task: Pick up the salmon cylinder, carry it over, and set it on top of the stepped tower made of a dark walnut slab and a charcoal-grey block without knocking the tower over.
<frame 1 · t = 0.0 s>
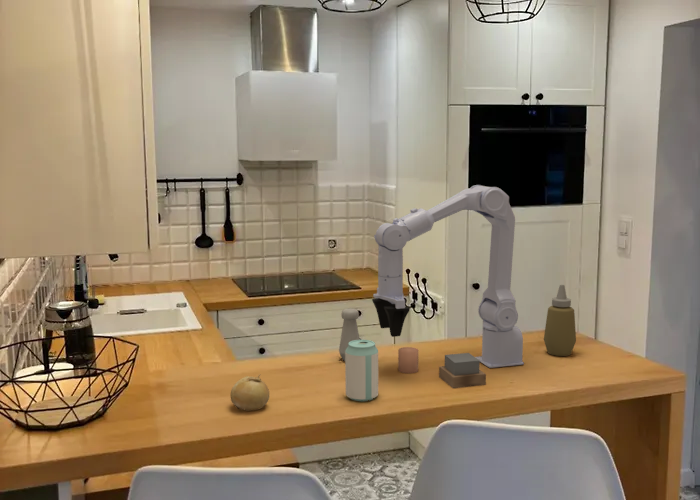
hand: (390, 331, 168), 10 cm above the breakfast bar, fingers open, 7 cm apart
walnut slab: (461, 382, 164), on the breakfast bar, touching charcoal block
can: (361, 397, 154), on the breakfast bar
salt shaker: (350, 360, 180), on the breakfast bar
squeeze bottle: (559, 354, 185), on the breakfast bar
salmon cylinder: (408, 370, 172), on the breakfast bar
onion: (250, 408, 149), on the breakfast bar
charcoal block: (461, 370, 164), point 3 cm above the breakfast bar, touching walnut slab
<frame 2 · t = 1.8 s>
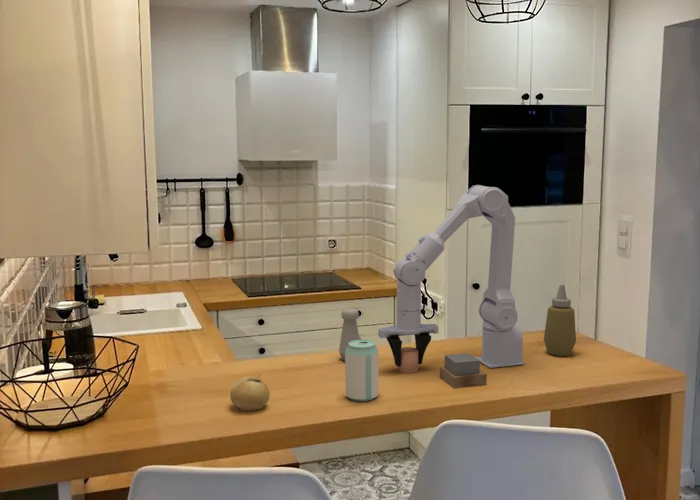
hand: (408, 364, 172), 1 cm above the breakfast bar, fingers closed on salmon cylinder, 5 cm apart
salmon cylinder: (408, 369, 172), on the breakfast bar, touching gripper
everything else where it was.
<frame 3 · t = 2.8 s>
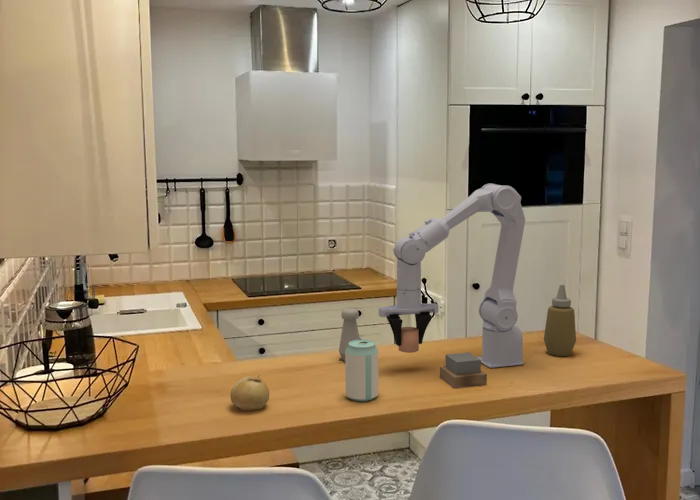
hand: (408, 343, 171), 6 cm above the breakfast bar, fingers closed on salmon cylinder, 5 cm apart
salmon cylinder: (408, 349, 171), point 5 cm above the breakfast bar, touching gripper
everything else where it was.
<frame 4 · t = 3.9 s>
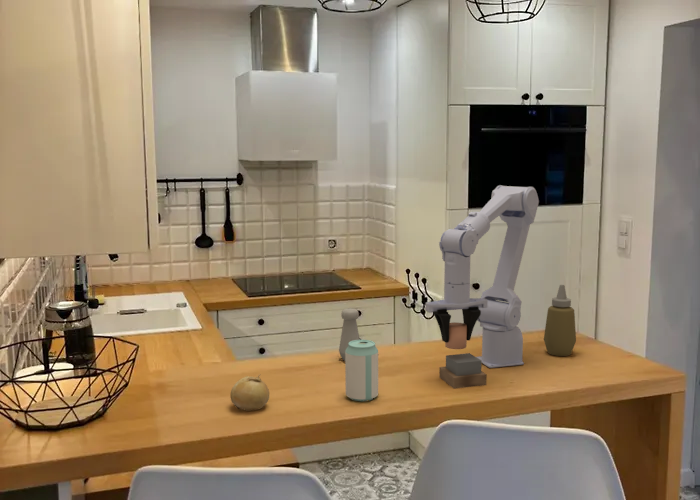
hand: (456, 340, 164), 9 cm above the breakfast bar, fingers closed on salmon cylinder, 5 cm apart
walnut slab: (462, 383, 164), on the breakfast bar
salmon cylinder: (455, 346, 164), point 8 cm above the breakfast bar, touching gripper
charcoal block: (463, 370, 163), point 2 cm above the breakfast bar
everything else where it was.
when the fingers open (8 cm above the breakfast bar, at t = 4.9 s): salmon cylinder drops 2 cm, resting on charcoal block.
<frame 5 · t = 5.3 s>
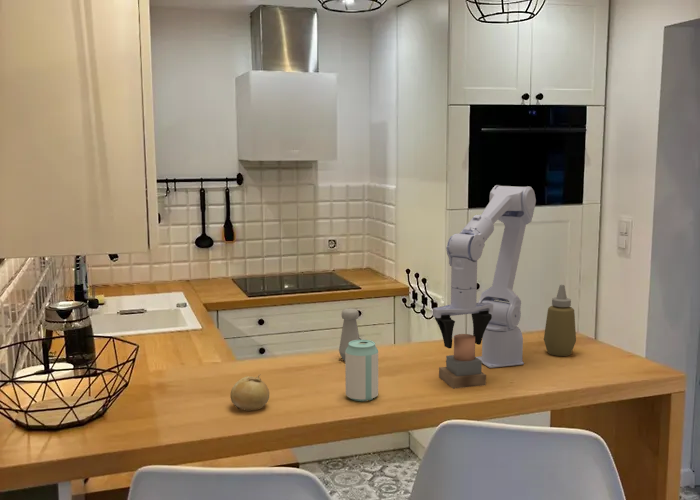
hand: (462, 345, 163), 8 cm above the breakfast bar, fingers open, 7 cm apart
salmon cylinder: (464, 357, 163), point 5 cm above the breakfast bar, touching charcoal block
charcoal block: (463, 370, 163), point 2 cm above the breakfast bar, touching salmon cylinder
everything else where it was.
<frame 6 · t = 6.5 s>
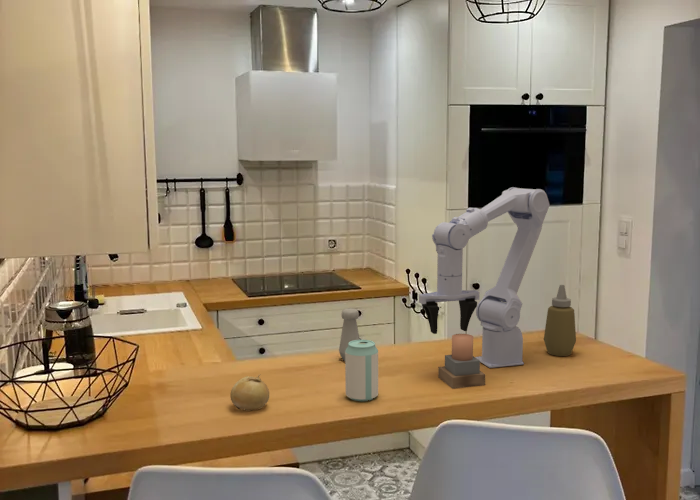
hand: (448, 331, 167), 10 cm above the breakfast bar, fingers open, 7 cm apart
walnut slab: (461, 383, 164), on the breakfast bar, touching charcoal block
charcoal block: (461, 370, 163), point 3 cm above the breakfast bar, touching salmon cylinder, walnut slab
everything else where it was.
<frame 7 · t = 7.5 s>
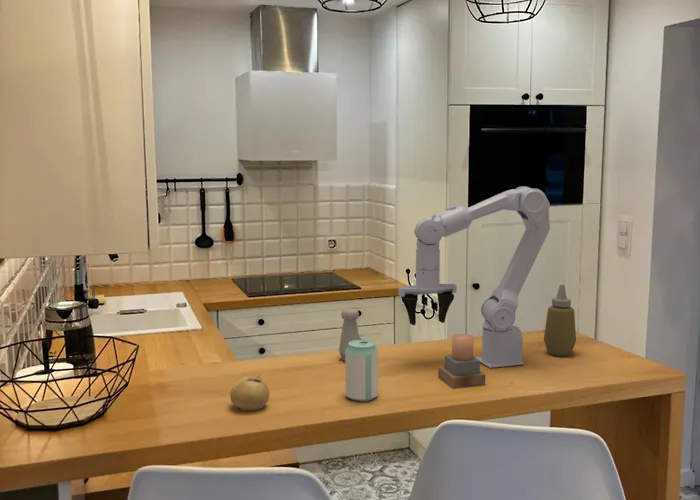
hand: (427, 322, 175), 10 cm above the breakfast bar, fingers open, 7 cm apart
walnut slab: (461, 383, 164), on the breakfast bar
charcoal block: (462, 370, 163), point 2 cm above the breakfast bar, touching salmon cylinder
everything else where it was.
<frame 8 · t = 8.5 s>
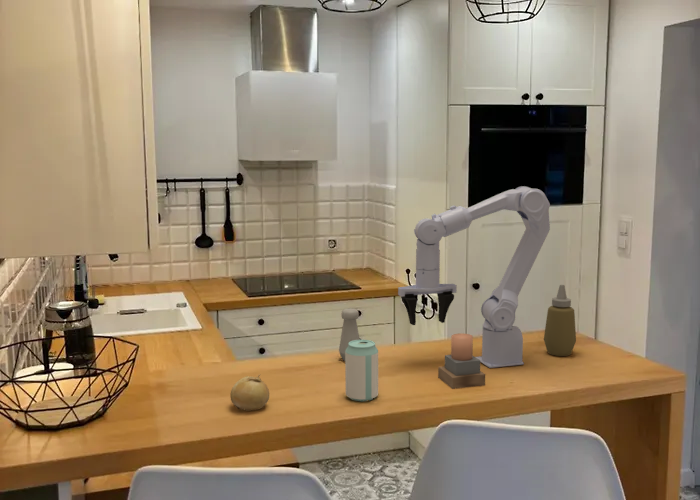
hand: (427, 322, 175), 10 cm above the breakfast bar, fingers open, 7 cm apart
walnut slab: (461, 383, 164), on the breakfast bar, touching charcoal block
salmon cylinder: (461, 357, 163), point 6 cm above the breakfast bar
charcoal block: (462, 370, 163), point 3 cm above the breakfast bar, touching walnut slab
everything else where it was.
at the end: salmon cylinder 0.2 cm off-centre on the walnut slab, point 6.0 cm above the walnut slab's base; charcoal block moved 0.5 cm from its start; charcoal block tilted 0° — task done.
